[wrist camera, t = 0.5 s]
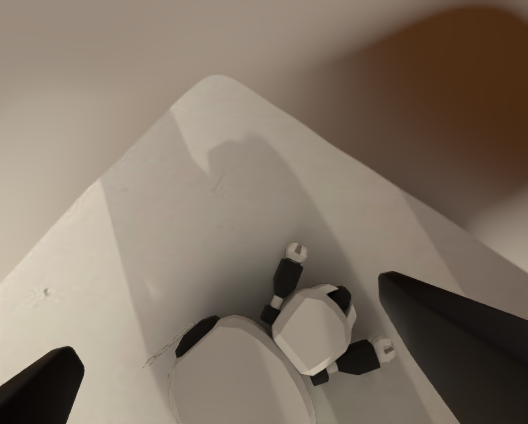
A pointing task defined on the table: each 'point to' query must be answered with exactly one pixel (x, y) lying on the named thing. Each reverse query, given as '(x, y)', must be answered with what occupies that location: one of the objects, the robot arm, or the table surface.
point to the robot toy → (269, 355)
